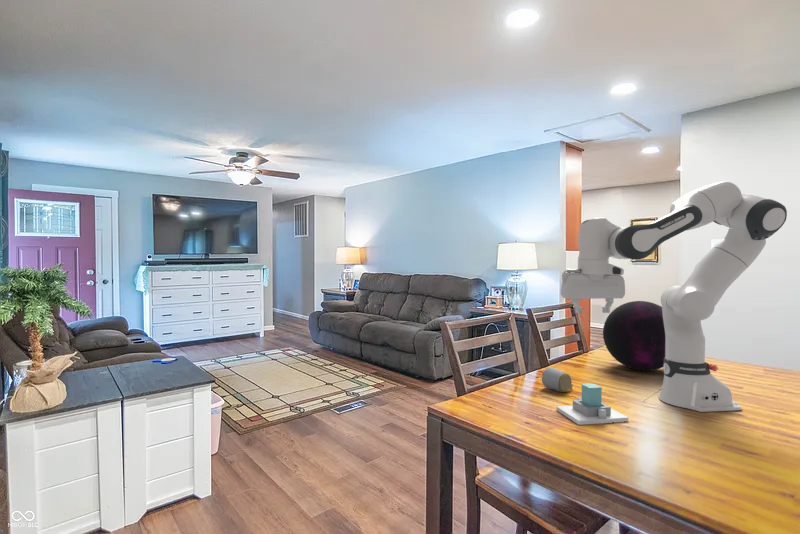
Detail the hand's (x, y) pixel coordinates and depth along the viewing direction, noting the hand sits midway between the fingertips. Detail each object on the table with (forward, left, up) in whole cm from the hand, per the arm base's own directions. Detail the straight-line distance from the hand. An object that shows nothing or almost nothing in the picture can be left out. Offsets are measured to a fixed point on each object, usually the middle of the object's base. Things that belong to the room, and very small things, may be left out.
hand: (592, 312), depth 131 cm
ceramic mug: (+4, -22, -31) cm, 38 cm away
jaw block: (+2, +5, -30) cm, 30 cm away
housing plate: (+2, +5, -31) cm, 31 cm away
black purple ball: (-41, -53, -31) cm, 74 cm away
